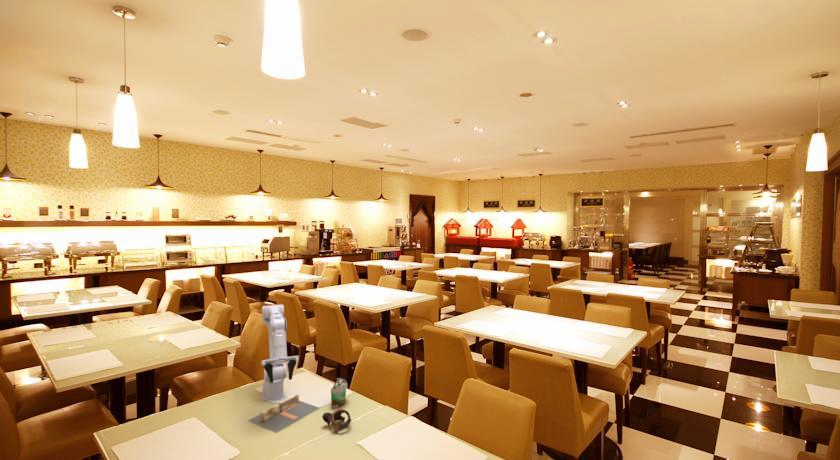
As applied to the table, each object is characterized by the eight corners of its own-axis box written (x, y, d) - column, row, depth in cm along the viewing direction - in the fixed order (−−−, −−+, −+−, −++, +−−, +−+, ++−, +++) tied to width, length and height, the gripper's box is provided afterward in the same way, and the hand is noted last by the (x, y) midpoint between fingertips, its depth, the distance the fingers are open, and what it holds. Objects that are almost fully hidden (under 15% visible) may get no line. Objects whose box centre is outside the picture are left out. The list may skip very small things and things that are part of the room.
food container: (344, 411, 179) (344, 389, 179) (330, 410, 179) (330, 388, 179) (349, 398, 191) (349, 377, 191) (337, 398, 192) (337, 377, 191)
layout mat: (247, 421, 170) (247, 420, 170) (292, 398, 190) (292, 398, 190) (276, 433, 161) (276, 432, 161) (320, 408, 181) (320, 407, 181)
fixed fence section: (278, 412, 177) (277, 403, 177) (297, 402, 186) (297, 394, 186) (280, 413, 176) (280, 404, 176) (299, 403, 185) (299, 395, 185)
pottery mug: (351, 421, 172) (354, 409, 168) (345, 442, 164) (349, 429, 160) (323, 414, 171) (326, 402, 167) (316, 435, 163) (319, 422, 159)
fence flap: (277, 412, 177) (277, 404, 176) (279, 413, 176) (279, 405, 176) (259, 421, 169) (259, 413, 168) (261, 422, 168) (261, 414, 168)
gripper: (264, 348, 163) (265, 383, 159) (299, 344, 171) (301, 377, 167) (259, 350, 168) (260, 384, 164) (294, 346, 177) (296, 378, 173)
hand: (281, 381), depth 166 cm, fingers open, 7 cm apart
